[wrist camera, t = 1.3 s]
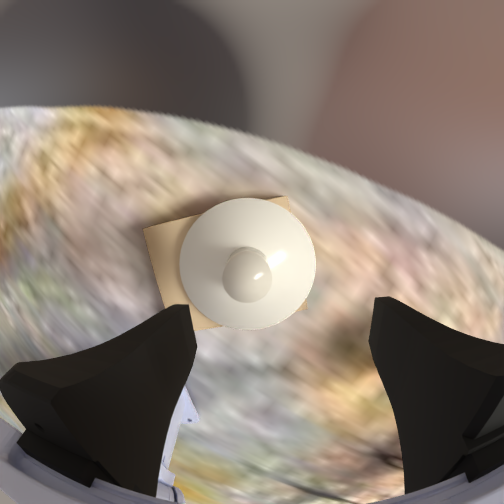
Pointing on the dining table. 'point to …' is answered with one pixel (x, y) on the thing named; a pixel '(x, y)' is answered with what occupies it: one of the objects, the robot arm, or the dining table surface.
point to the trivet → (168, 257)
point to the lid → (247, 264)
